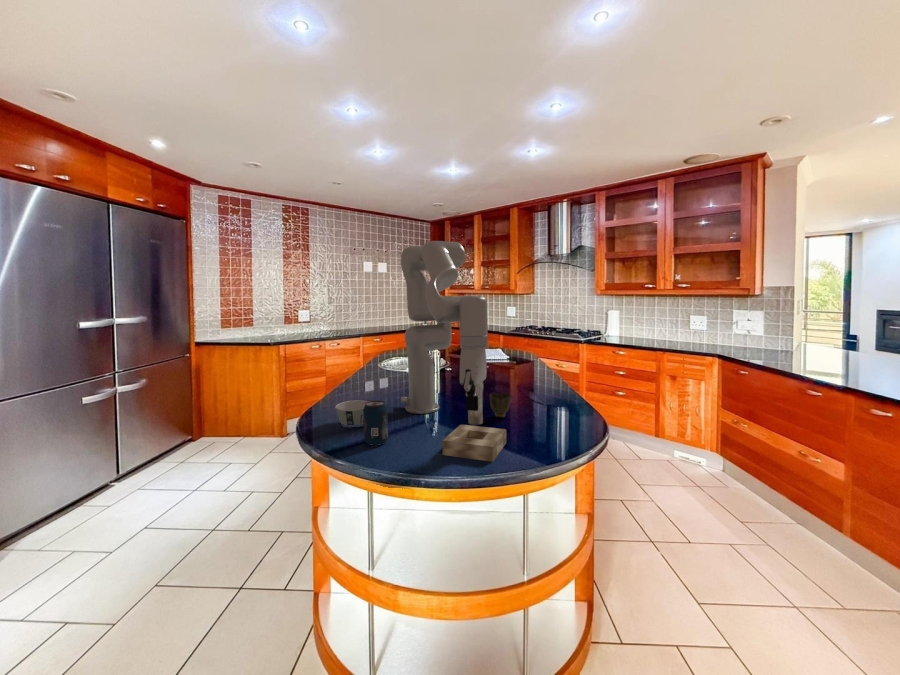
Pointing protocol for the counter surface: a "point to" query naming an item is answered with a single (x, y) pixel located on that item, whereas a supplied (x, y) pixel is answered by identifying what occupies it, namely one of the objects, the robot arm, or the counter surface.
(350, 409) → the food container
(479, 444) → the square wooden frame
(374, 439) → the soda can
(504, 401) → the brown bumpy hollow part
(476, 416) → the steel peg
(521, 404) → the counter surface
